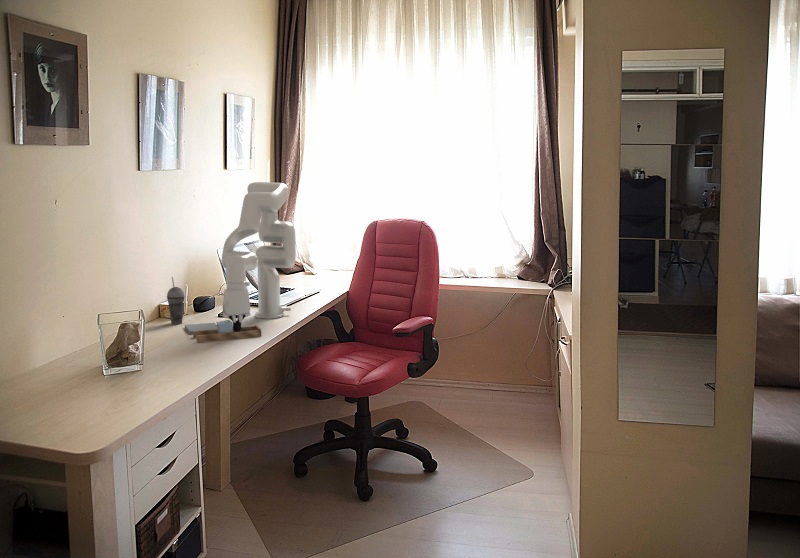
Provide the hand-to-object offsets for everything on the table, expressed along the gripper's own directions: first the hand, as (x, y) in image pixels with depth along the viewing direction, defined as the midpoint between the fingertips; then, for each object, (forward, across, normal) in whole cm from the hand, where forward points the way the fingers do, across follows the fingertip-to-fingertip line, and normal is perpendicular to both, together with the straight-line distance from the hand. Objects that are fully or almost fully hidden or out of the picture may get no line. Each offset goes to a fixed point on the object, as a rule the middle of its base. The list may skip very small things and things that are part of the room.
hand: (237, 331), depth 286 cm
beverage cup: (+2, +18, -30) cm, 36 cm away
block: (+2, +4, 0) cm, 5 cm away
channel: (+2, +4, 0) cm, 4 cm away
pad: (+2, +11, -15) cm, 19 cm away
